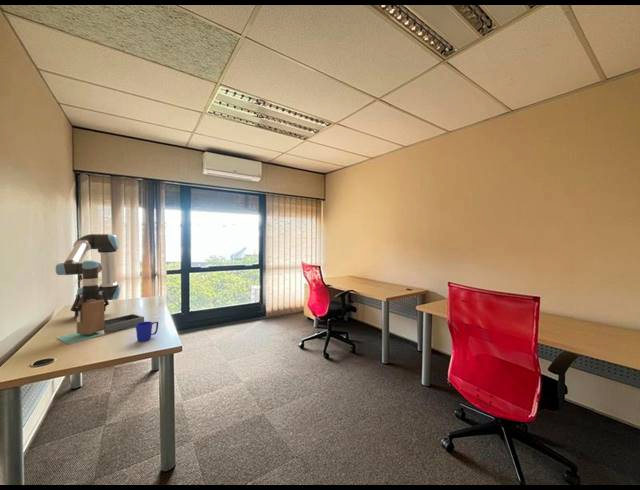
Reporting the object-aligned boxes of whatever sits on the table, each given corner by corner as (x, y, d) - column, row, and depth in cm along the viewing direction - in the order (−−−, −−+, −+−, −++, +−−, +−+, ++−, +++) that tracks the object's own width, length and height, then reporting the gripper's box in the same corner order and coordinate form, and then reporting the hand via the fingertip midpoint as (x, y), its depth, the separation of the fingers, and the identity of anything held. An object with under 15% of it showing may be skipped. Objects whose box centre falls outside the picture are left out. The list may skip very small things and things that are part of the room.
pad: (56, 338, 158) (56, 337, 158) (89, 330, 172) (89, 329, 172) (68, 344, 149) (68, 343, 149) (102, 335, 163) (102, 334, 163)
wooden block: (89, 335, 160) (88, 303, 159) (76, 334, 162) (75, 302, 161) (105, 329, 169) (105, 299, 169) (92, 328, 171) (92, 298, 171)
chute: (94, 329, 173) (94, 322, 173) (133, 320, 193) (133, 313, 193) (105, 334, 166) (105, 326, 166) (144, 323, 186) (144, 316, 186)
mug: (161, 337, 162) (161, 321, 162) (140, 343, 151) (140, 326, 151) (154, 334, 166) (154, 319, 166) (133, 340, 156) (133, 324, 155)
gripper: (68, 288, 153) (68, 325, 153) (115, 282, 173) (115, 315, 174) (62, 287, 156) (63, 323, 157) (109, 281, 177) (110, 313, 178)
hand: (90, 319), depth 165 cm, fingers closed on wooden block, 11 cm apart
